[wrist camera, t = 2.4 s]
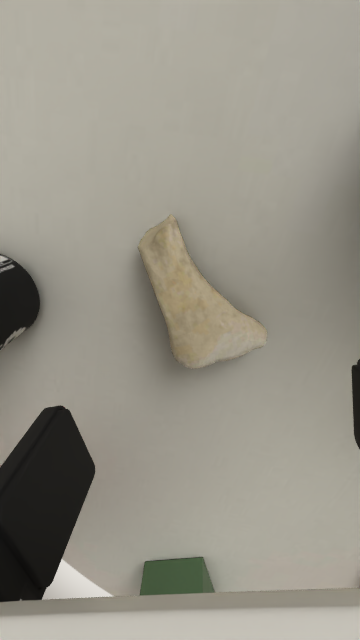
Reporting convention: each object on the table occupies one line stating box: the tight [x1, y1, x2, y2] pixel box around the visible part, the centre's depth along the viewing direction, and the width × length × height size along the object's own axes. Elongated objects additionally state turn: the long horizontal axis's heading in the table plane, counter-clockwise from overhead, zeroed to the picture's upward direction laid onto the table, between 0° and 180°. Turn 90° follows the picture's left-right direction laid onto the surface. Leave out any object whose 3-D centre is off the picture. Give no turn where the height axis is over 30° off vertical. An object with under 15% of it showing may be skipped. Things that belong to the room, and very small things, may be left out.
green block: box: [140, 557, 215, 596], centre depth 34 cm, size 7×7×6 cm
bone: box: [138, 215, 267, 369], centre depth 21 cm, size 11×6×5 cm, turn 41°
